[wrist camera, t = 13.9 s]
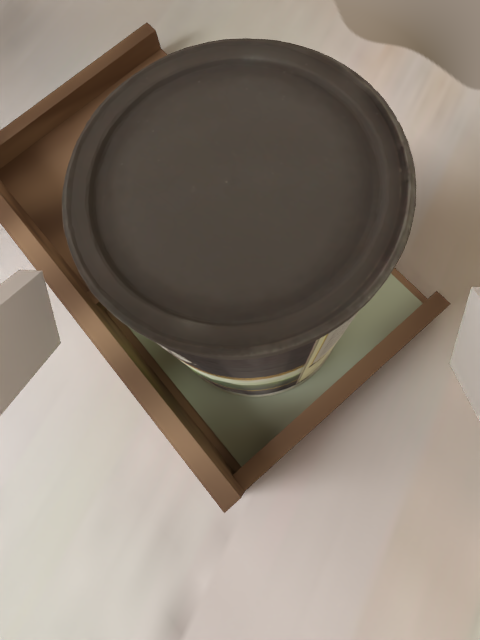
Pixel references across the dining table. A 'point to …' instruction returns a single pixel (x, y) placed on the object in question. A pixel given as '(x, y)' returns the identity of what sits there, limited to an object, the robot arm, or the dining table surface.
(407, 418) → the dining table surface
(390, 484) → the dining table surface
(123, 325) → the tray
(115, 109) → the coffee can
